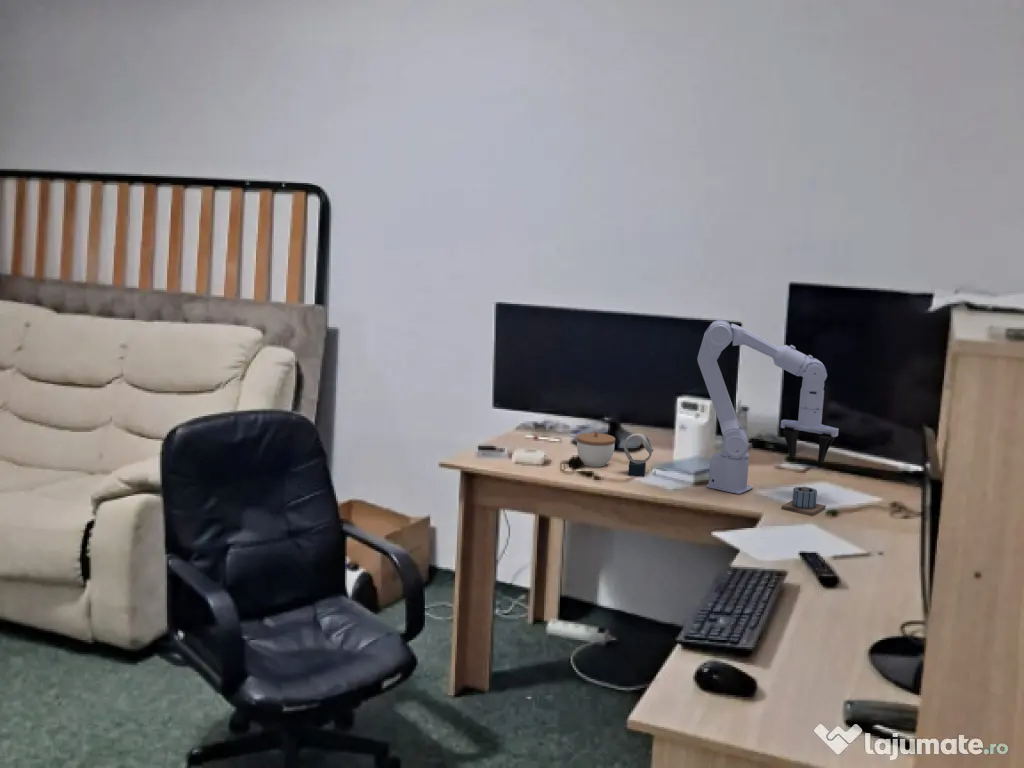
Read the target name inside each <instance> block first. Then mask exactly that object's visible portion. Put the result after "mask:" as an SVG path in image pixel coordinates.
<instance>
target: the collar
mask: <svg viewBox="0 0 1024 768" xmlns="http://www.w3.org/2000/svg"><path fill="white" fill-rule="evenodd" d="M802 488H807V489H809V492H803V491H801V489H802ZM817 497H818V490H817V489H816V488H812V487H808V486H795V487H793V490H792V500H791V501H792V505H793V506H795V507H797V508H801V509H802V508H803V509H813V508H816V504H817Z"/></svg>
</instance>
